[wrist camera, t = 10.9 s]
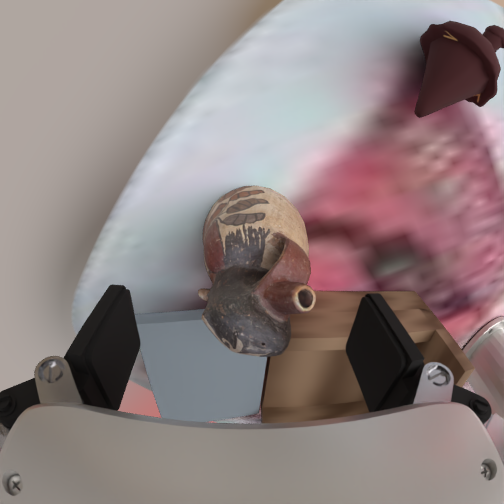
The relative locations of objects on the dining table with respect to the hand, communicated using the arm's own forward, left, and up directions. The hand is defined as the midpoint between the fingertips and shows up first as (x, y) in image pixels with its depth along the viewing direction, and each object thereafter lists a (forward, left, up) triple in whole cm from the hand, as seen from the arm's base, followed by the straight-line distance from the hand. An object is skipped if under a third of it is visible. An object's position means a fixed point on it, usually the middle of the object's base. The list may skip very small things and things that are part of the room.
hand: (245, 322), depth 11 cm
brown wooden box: (-10, +12, -11) cm, 19 cm away
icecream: (-15, -16, -11) cm, 24 cm away
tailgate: (-2, +12, -8) cm, 15 cm away
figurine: (-1, 0, -11) cm, 11 cm away
